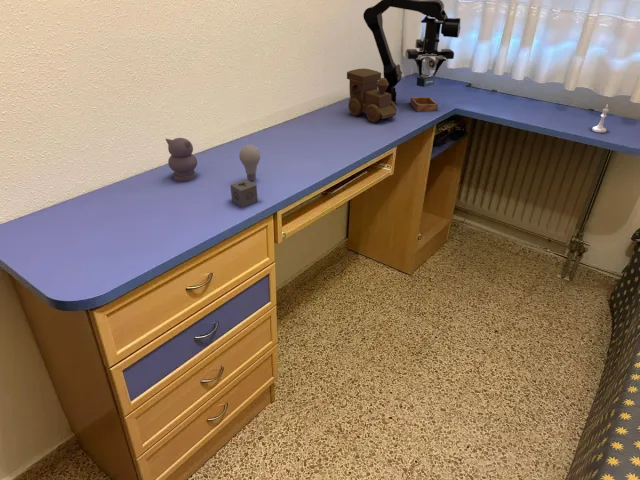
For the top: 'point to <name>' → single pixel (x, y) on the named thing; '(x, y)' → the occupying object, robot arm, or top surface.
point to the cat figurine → (181, 159)
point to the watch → (431, 67)
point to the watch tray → (423, 104)
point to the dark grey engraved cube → (244, 193)
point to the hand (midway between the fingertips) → (426, 75)
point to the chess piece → (601, 122)
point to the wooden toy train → (369, 95)
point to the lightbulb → (250, 160)
